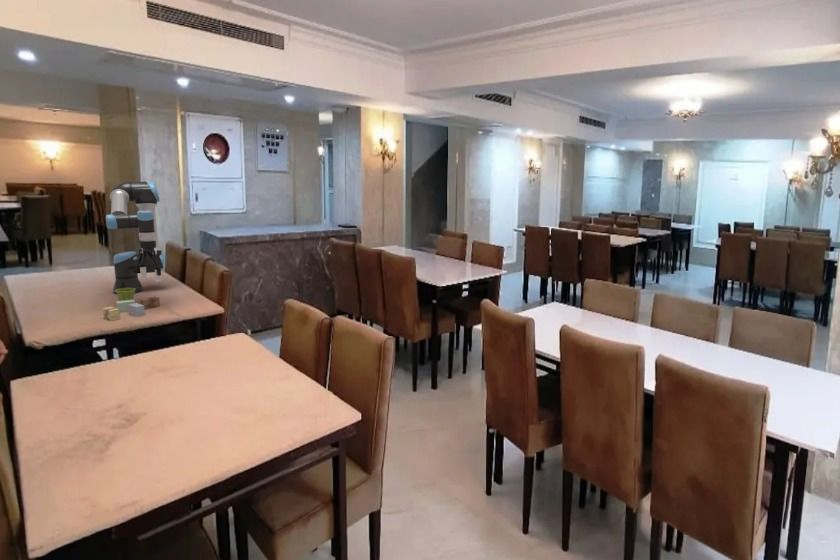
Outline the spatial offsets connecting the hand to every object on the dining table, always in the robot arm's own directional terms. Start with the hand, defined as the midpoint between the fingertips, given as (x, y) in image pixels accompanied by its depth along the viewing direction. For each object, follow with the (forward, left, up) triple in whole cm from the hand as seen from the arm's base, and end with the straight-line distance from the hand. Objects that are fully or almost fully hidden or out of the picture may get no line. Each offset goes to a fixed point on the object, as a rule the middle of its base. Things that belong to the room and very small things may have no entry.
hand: (151, 280), depth 268 cm
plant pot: (-13, -8, -15) cm, 21 cm away
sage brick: (-3, -13, -14) cm, 19 cm away
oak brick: (+6, -24, -14) cm, 29 cm away
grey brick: (+8, -13, -14) cm, 21 cm away
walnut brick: (0, -2, -14) cm, 14 cm away
